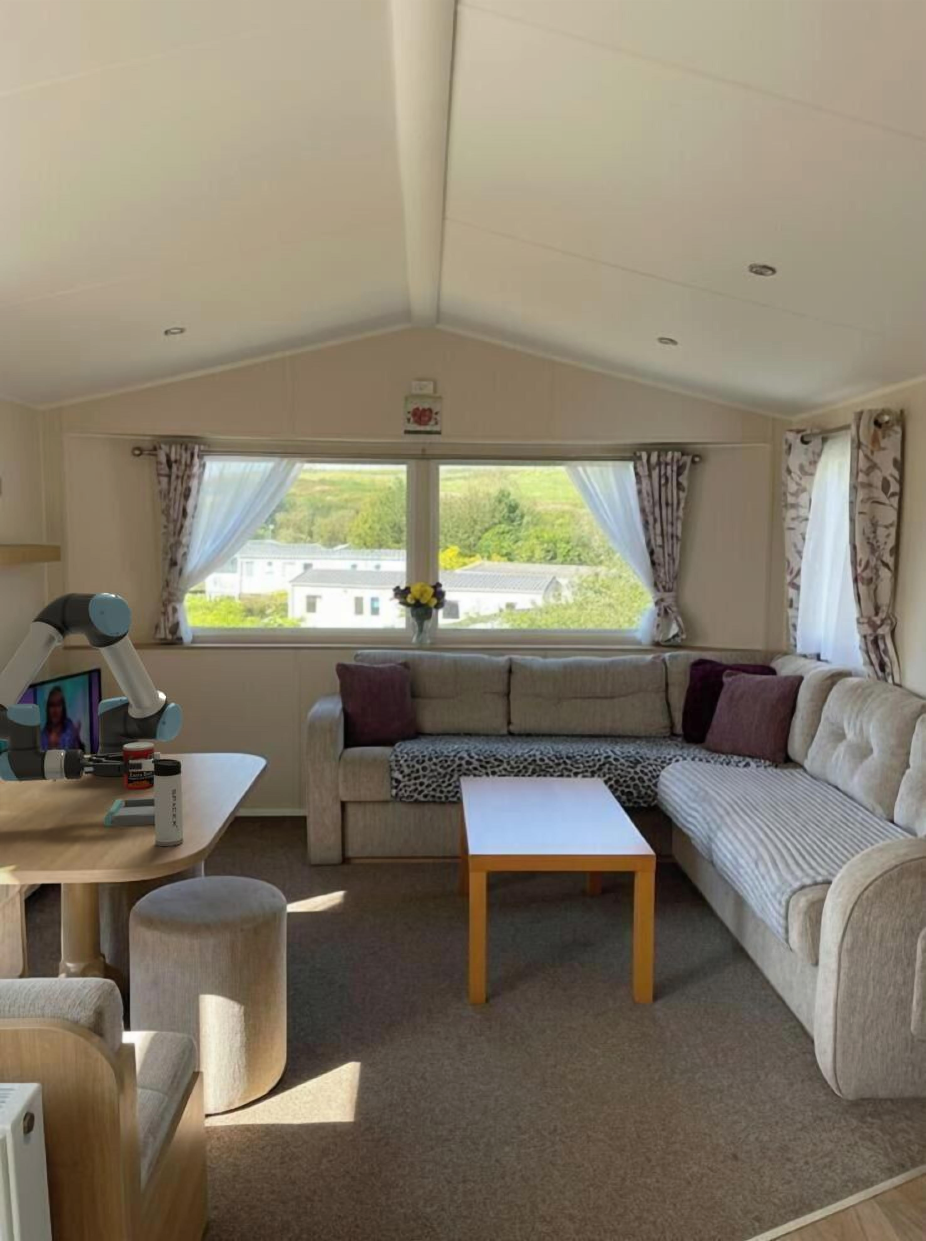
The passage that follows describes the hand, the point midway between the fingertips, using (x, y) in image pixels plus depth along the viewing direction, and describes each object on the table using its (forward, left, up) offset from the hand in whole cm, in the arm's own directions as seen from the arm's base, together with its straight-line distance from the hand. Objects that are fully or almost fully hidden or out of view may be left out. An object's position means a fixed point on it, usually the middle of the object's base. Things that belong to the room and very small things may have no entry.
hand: (158, 761), depth 250 cm
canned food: (0, -5, -7) cm, 8 cm away
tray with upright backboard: (0, -5, -14) cm, 15 cm away
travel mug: (+26, +5, -14) cm, 30 cm away
